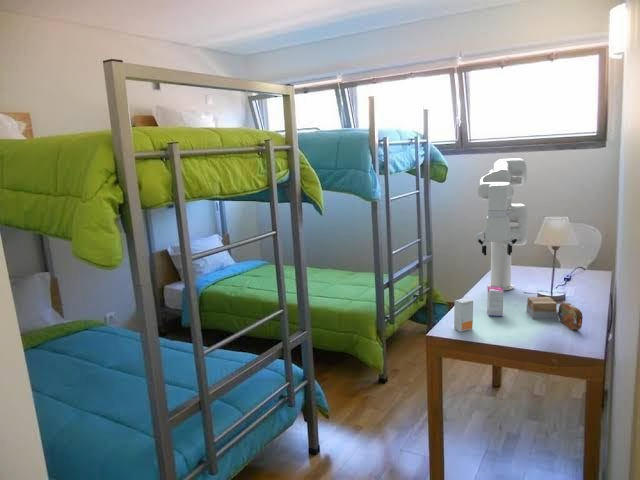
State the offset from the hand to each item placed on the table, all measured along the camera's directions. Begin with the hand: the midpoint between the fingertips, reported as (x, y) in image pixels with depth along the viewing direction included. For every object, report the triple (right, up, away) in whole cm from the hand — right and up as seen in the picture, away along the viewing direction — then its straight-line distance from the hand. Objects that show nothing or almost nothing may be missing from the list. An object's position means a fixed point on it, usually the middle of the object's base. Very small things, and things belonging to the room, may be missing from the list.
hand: (496, 254), depth 201 cm
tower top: (+19, -23, +1) cm, 30 cm away
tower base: (+20, -26, +2) cm, 33 cm away
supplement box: (+1, -26, +5) cm, 27 cm away
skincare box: (-17, -30, -10) cm, 35 cm away
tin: (+25, -28, -12) cm, 39 cm away
